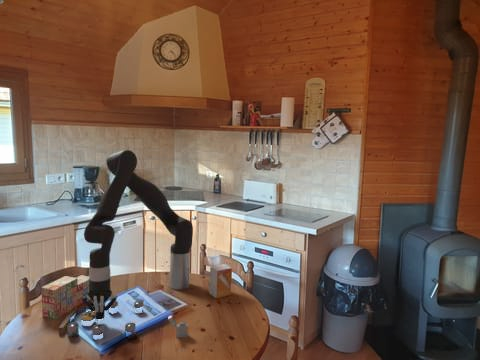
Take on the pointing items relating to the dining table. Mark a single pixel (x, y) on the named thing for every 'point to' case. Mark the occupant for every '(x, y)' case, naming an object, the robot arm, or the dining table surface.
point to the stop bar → (66, 321)
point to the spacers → (98, 329)
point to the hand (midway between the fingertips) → (100, 320)
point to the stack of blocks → (63, 295)
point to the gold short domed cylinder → (88, 316)
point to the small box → (220, 280)
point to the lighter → (179, 328)
